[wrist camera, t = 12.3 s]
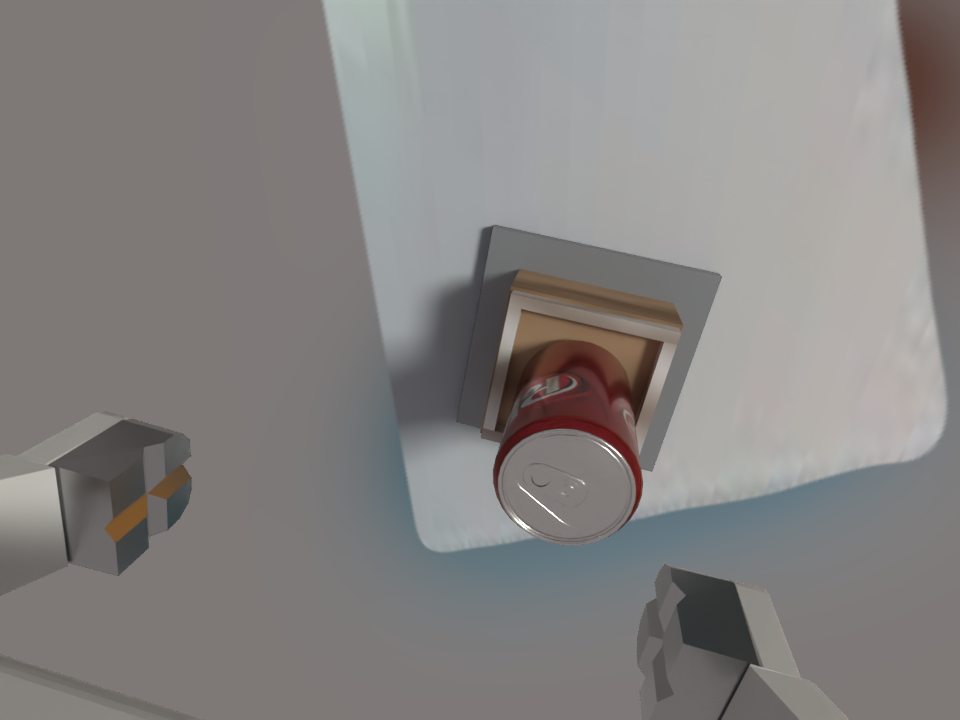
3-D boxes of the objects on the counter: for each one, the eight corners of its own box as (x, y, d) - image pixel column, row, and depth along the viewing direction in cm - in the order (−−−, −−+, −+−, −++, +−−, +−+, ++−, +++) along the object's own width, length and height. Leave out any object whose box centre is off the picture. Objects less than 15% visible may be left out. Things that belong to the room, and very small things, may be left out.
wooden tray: (520, 268, 41) (508, 290, 36) (673, 303, 40) (685, 330, 35) (491, 402, 46) (477, 439, 40) (629, 436, 45) (634, 480, 39)
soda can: (652, 371, 37) (675, 471, 26) (593, 453, 40) (592, 575, 29) (553, 316, 37) (535, 395, 26) (501, 403, 40) (466, 507, 29)
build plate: (495, 224, 42) (492, 226, 41) (719, 273, 40) (721, 276, 39) (459, 416, 48) (456, 421, 47) (650, 464, 46) (652, 471, 45)
